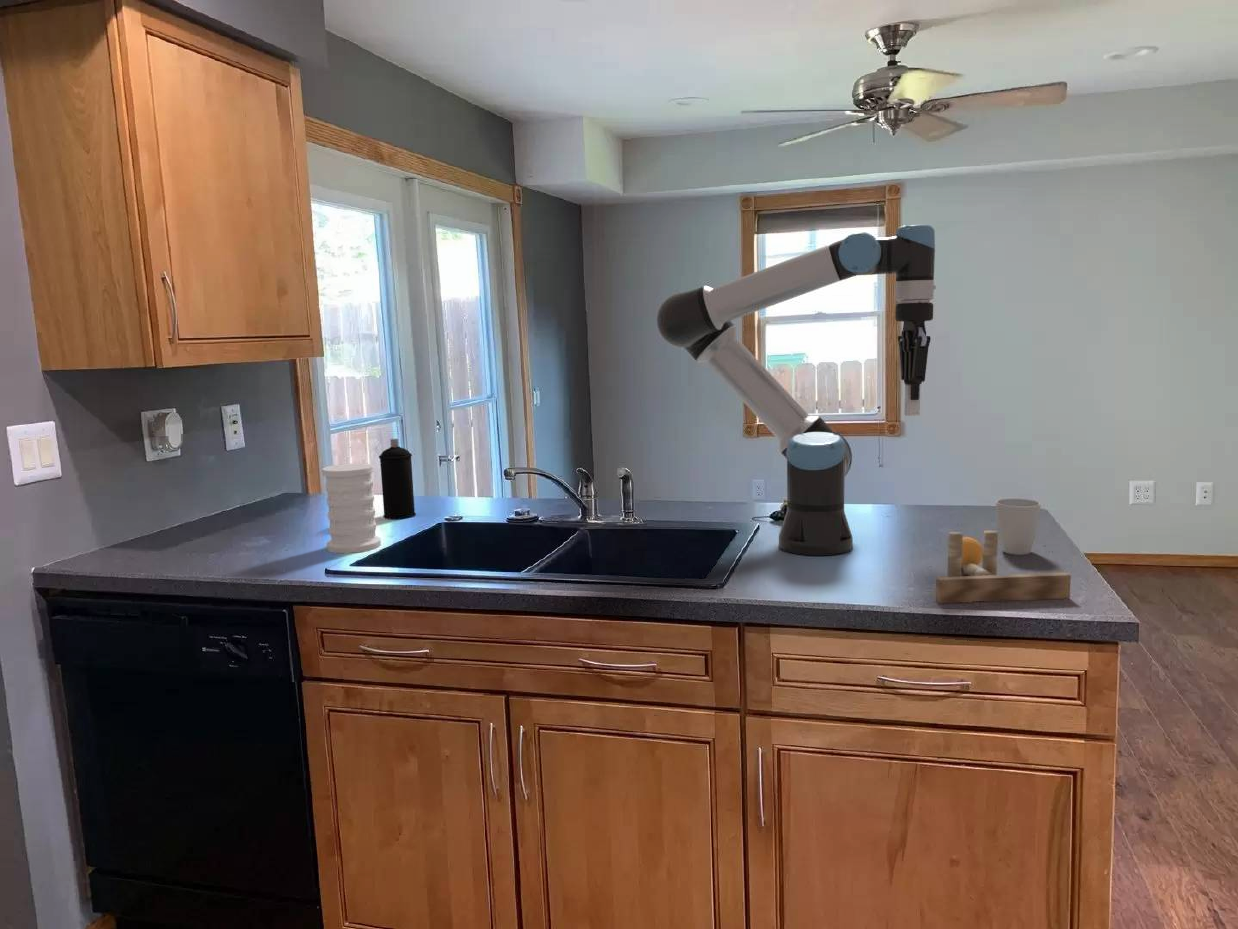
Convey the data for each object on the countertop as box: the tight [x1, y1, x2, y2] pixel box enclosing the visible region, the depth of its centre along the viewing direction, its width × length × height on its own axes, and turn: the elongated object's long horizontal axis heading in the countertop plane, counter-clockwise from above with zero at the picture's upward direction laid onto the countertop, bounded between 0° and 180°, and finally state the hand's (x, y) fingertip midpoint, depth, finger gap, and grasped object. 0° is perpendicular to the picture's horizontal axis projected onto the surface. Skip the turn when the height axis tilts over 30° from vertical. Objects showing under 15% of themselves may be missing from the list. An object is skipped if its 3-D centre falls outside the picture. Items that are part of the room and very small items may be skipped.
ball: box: [962, 536, 983, 569], centre depth 172 cm, size 6×6×6 cm
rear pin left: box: [982, 530, 999, 575], centre depth 165 cm, size 2×2×8 cm
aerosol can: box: [378, 438, 417, 520], centre depth 233 cm, size 8×8×20 cm
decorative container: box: [321, 462, 382, 554], centre depth 202 cm, size 12×12×18 cm
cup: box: [995, 498, 1041, 556], centre depth 182 cm, size 8×8×10 cm
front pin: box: [962, 562, 994, 576], centre depth 164 cm, size 2×2×8 cm
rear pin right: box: [946, 531, 964, 577], centre depth 165 cm, size 2×2×8 cm
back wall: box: [935, 572, 1072, 604], centre depth 153 cm, size 22×2×4 cm, turn 92°
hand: (912, 414), depth 193 cm, fingers closed
